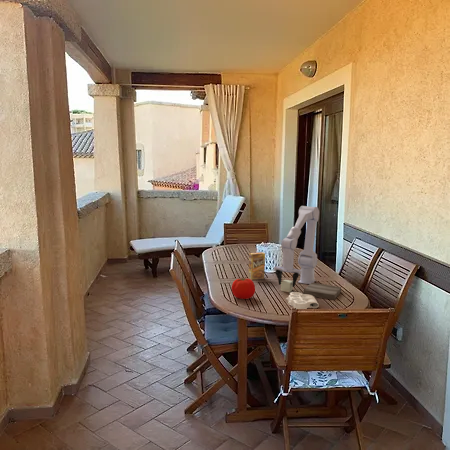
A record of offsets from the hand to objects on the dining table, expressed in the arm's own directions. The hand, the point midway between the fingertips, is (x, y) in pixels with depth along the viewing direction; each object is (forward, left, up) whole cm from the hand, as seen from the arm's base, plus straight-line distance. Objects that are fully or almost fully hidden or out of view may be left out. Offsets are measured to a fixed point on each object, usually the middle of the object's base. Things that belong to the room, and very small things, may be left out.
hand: (286, 285), depth 219 cm
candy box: (-13, -23, -3) cm, 27 cm away
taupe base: (-5, +18, -3) cm, 19 cm away
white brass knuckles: (+17, +13, -3) cm, 22 cm away
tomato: (+24, -15, -3) cm, 28 cm away
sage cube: (0, 0, -3) cm, 3 cm away
